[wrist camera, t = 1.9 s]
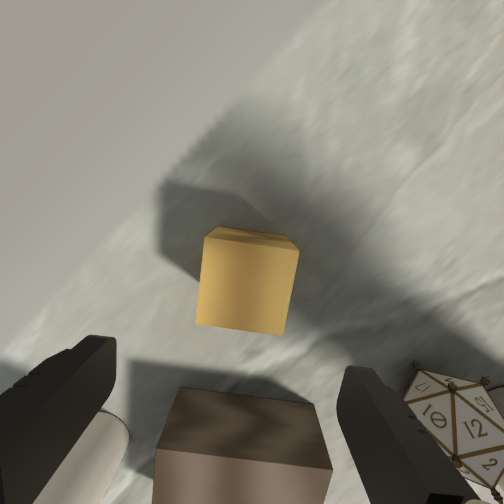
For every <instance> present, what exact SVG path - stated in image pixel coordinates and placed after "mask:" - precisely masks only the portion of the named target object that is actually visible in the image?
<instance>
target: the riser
mask: <svg viewBox="0 0 504 504" xmlns="http://www.w3.org/2000/svg"><path fill="white" fill-rule="evenodd" d="M332 473H333V468H332V464H331V461H330V458H329V454H328V451H327V447H326V444H325V441H324V437H323V434H322V430H321V427H320V424H319V420H318V417H317V413H316V410H315V407H314V405H313V404H305V403H298V402H290V401H282V400H275V399H267V398H259V397H252V396H244V395H236V394H229V393H221V392H213V391H205V390H198V389H190V388H182V387H180V388H179V391H178V393H177V396H176V398H175V401H174V404H173V406H172V409H171V411H170V414H169V416H168V419H167V421H166V424H165V427H164V429H163V432H162V434H161V437H160V439H159V442H158V444H157V447H156V454H155V468H154V481H153V495H152V504H323V503H324V500H325V496H326V493H327V490H328V486H329V483H330V480H331V476H332Z"/></svg>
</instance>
